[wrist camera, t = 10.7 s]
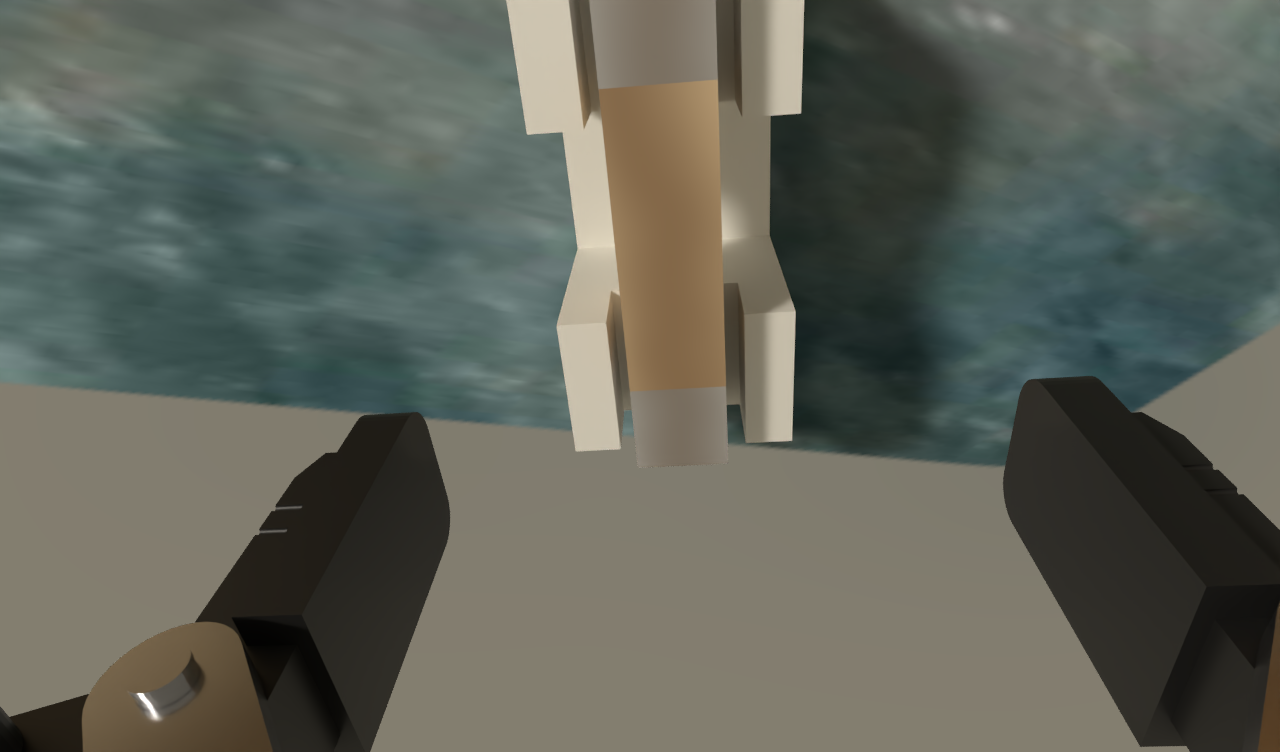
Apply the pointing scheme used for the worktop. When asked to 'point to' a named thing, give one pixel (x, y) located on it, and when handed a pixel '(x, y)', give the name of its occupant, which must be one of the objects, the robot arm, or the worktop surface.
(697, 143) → the rail
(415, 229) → the worktop surface
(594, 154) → the white notched block
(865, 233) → the worktop surface
